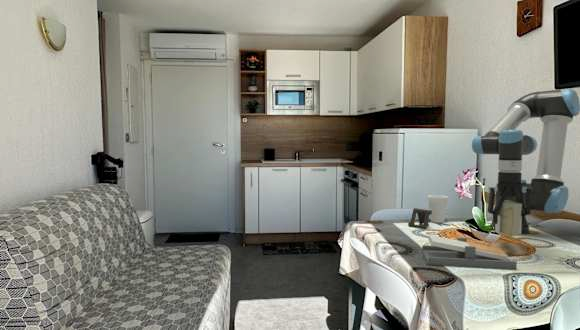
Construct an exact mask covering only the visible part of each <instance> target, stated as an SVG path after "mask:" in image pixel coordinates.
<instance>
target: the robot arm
mask: <svg viewBox="0 0 580 330" xmlns="http://www.w3.org/2000/svg"><path fill="white" fill-rule="evenodd" d="M579 114H580V98H579V95H578V93H577V91H576V90H574V89H573V88H565V89H563V88H561V89H553V90H543V91H534V92H531V93H527V94H525V95H523V96H521V97H519V98H518V99H517V100H515V101H513V102H512V103H511V104H510V105H509V107H508V108H507V111H506V113H504V115H503V116H502V117H501V118H500V119H499V120H498V121H497V122H495V124H493V126H492V127H491V128H490V129H489V130H488V132H486V133H485V134H484V135H479V136H478V135H477V136H474V137H473V139H472V142H471V148H472V151H473V153H475V154H477V155H498V166H497V167H498V168H497V170H498V173H497V183H496V186H488V192H489V197H488V204H487V213H489V214H492V221H491V223H490V226H491V225H493V227H494V230H493V231H495V232H496V233H497V234H501V233H500V215H499V211H500V208H501V206H502V204H503V201H505V200H509V201H513V202H516V203H520V204H522V210H521V218H520V227H519V235H523V234H524V235H525V234H529V233H530V226H529V223H528V219H527V216H529V215H531V211H535V212H540V213H541V212H542V213H546V214H547V213H548V214H549V213H552V214H559V213H561V212H562V211H563V210H564V209H565V207H566V205H567V203H568V199H569V188H568V187H567V186H565V182H564V180H562V178H561V176H562V168H563V160H564V154H565V146H566V138H567V131H568V126H569V124H571V123H572V122H573V121H574V117H577V116H578V115H579ZM534 118H540V121H541V122H542V123H543V126H542V132H541V133H542V134H541V140H540V146H539V147H540V148H539V153H538V160H537V161H538V162H537V168H536V174H535V176H534V177H532V178H531V179H530V180H531V181H530V183H527V180H526V179H522V172H521V171H523V170H522V168H523V167H522V165H523V156H527V155H530V154H532V153H535V151H536V150H537V147H538V142H537V140H536V138H534V137H533V136H531V135H528V134H524V133H523V130H521V129H517V128H518V127H519V126H520V125H521V124H522V123H524V122H526V121H528V120H529V119H534Z"/></svg>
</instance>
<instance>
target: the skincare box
mask: <svg viewBox="0 0 580 330" xmlns="http://www.w3.org/2000/svg"><path fill="white" fill-rule="evenodd" d="M521 210H522V204H520V203H516V202H513V201H509V200H505V201H503V204H502V206H501V208H500V211H499V215H500V233H499V234H502V235H505V236H507V237H516V236H519V235H520V234H519V227H520V218H521Z"/></svg>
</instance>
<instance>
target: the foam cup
mask: <svg viewBox="0 0 580 330" xmlns="http://www.w3.org/2000/svg"><path fill="white" fill-rule="evenodd" d="M448 198H449V196H447V195H442V194H441V195H440V194H430V195H428V196H427V201H428V208H429V209H428V210H431V211H432V214H431V215H429V219H430V222H431V223H437V224H442V223H444V222H445V218H446V211H447V205H448V201H449V200H448Z"/></svg>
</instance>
